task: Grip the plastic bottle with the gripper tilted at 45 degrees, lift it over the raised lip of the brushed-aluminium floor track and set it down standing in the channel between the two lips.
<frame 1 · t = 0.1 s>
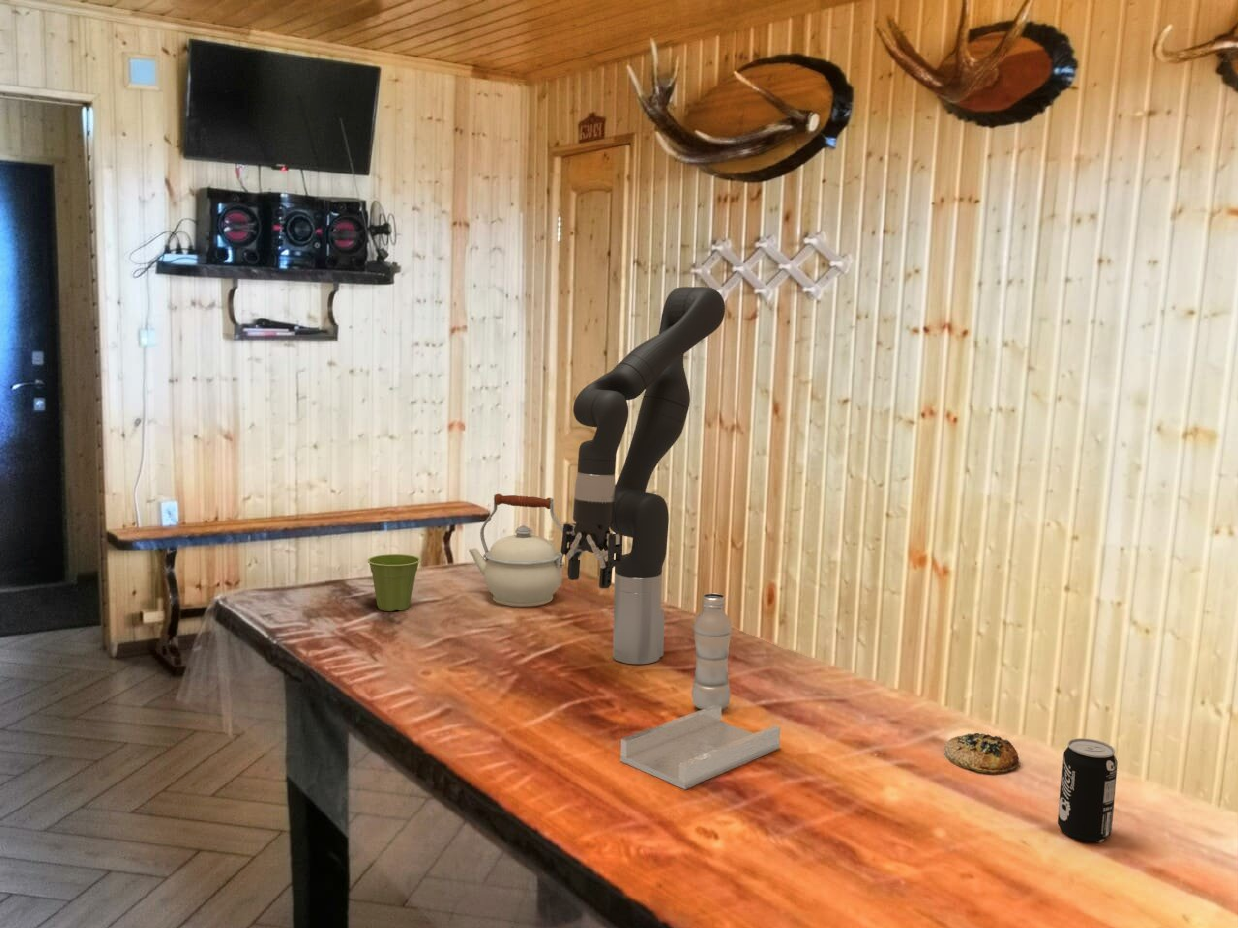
hand: (588, 583, 200), 17 cm above the table, fingers open, 8 cm apart
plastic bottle: (710, 709, 185), on the table
beverage can: (1084, 834, 143), on the table
aluminium track: (701, 754, 166), on the table
bread roll: (979, 762, 166), on the table
kettle: (516, 599, 254), on the table
plant pot: (394, 608, 245), on the table
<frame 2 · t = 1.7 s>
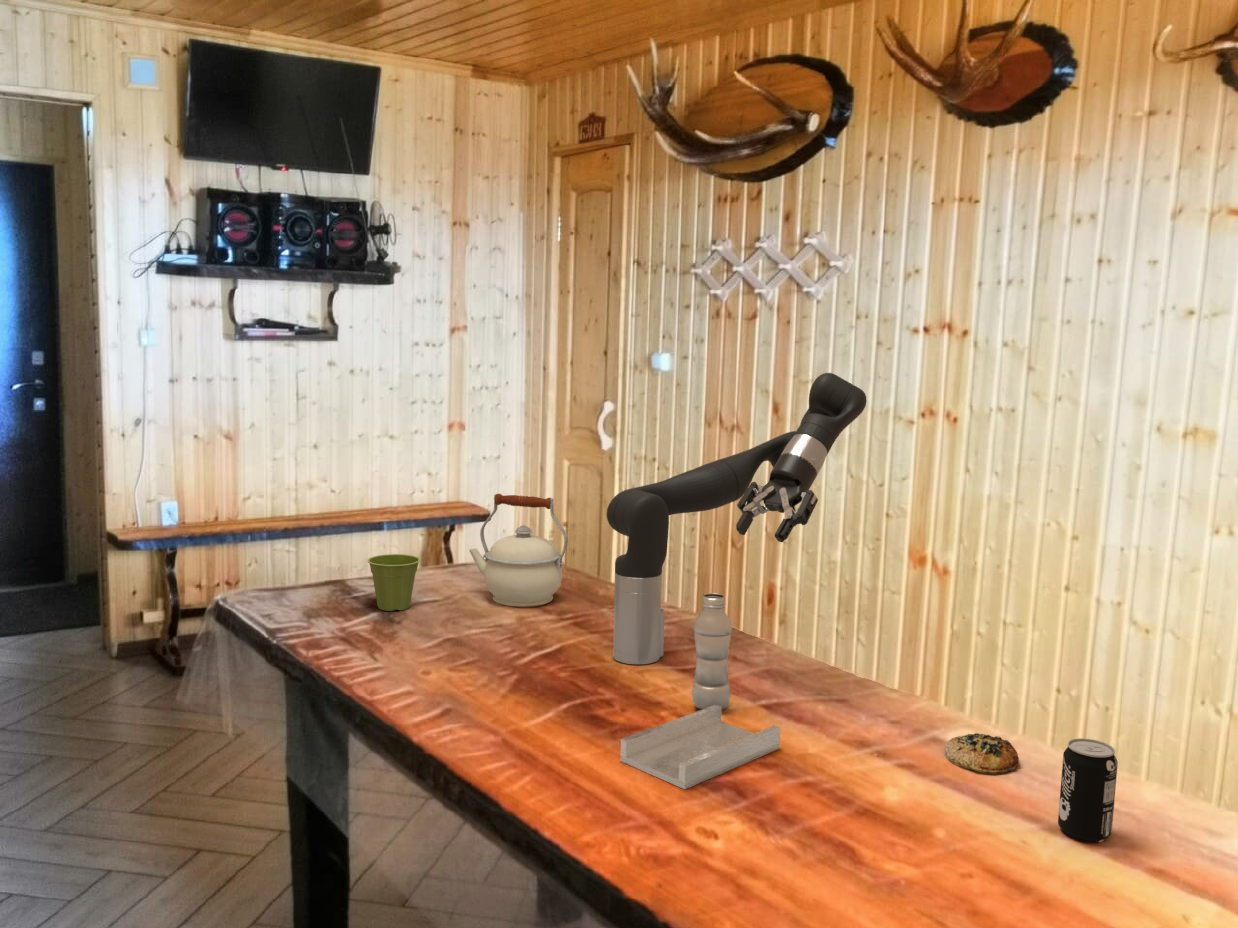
hand: (758, 535, 189), 29 cm above the table, fingers open, 8 cm apart
nothing on the table moved.
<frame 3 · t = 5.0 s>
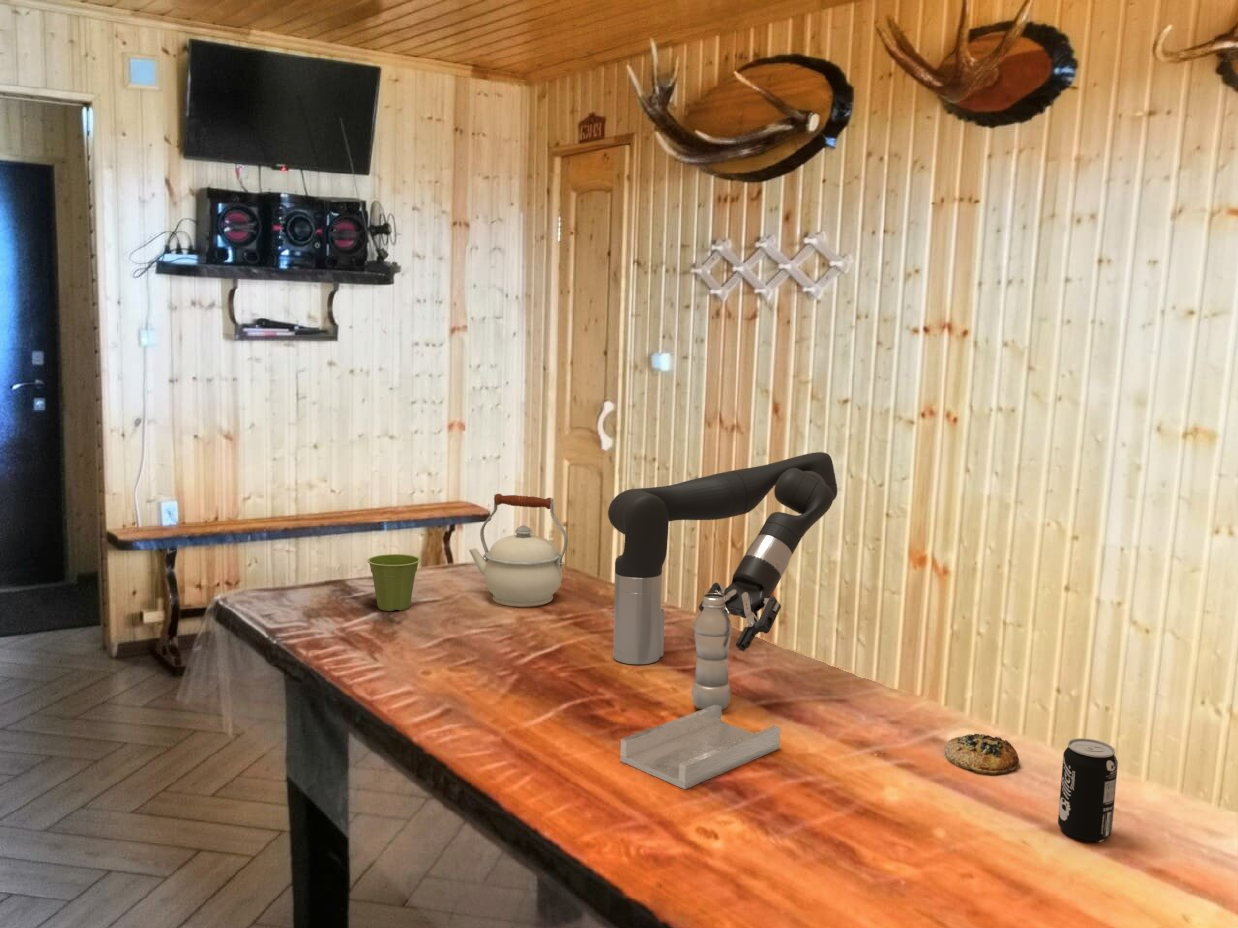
hand: (719, 642, 184), 12 cm above the table, fingers open, 8 cm apart
nothing on the table moved.
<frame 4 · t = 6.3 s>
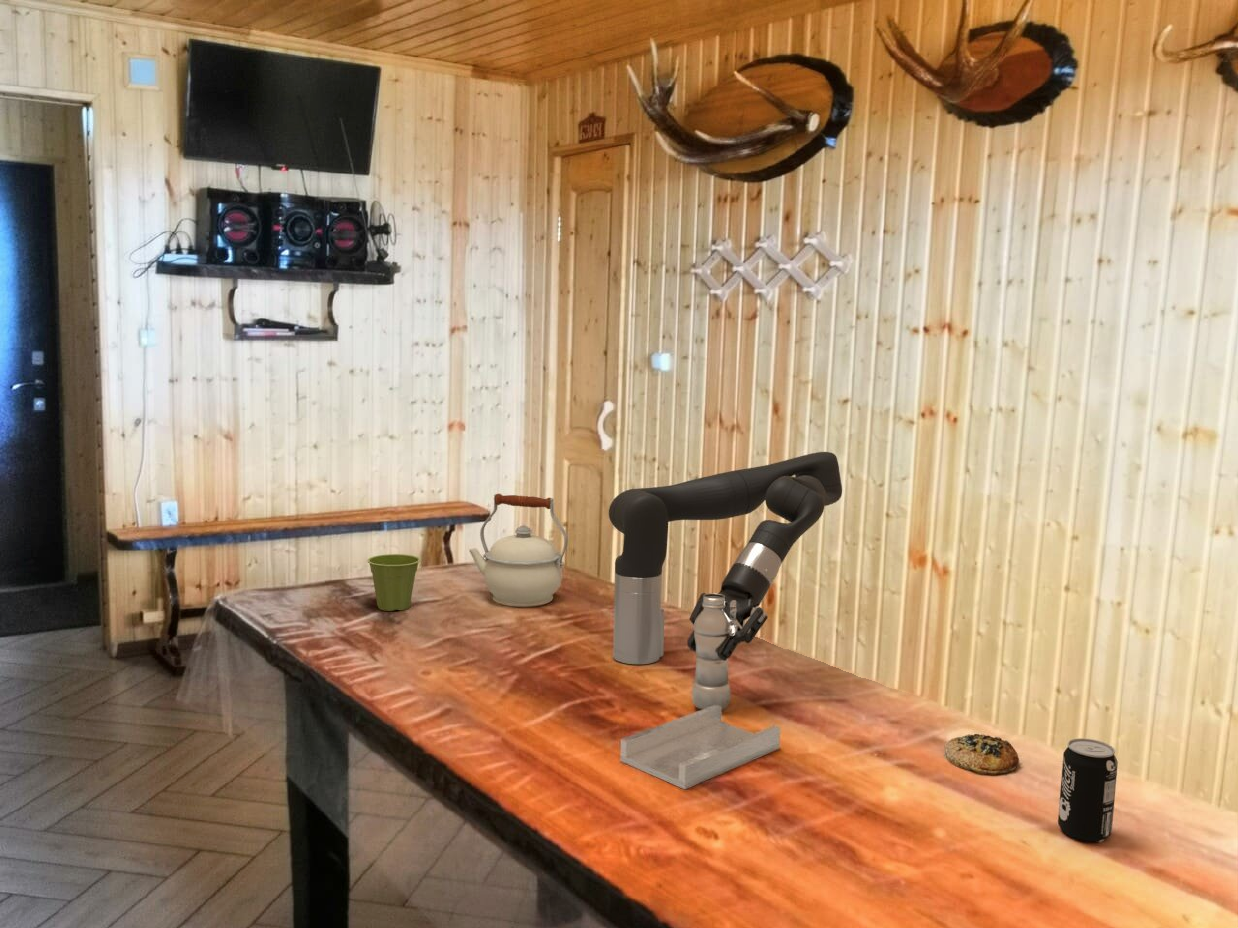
hand: (705, 652, 183), 10 cm above the table, fingers closed on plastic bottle, 6 cm apart
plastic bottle: (710, 709, 185), on the table, touching gripper
everything else where it was.
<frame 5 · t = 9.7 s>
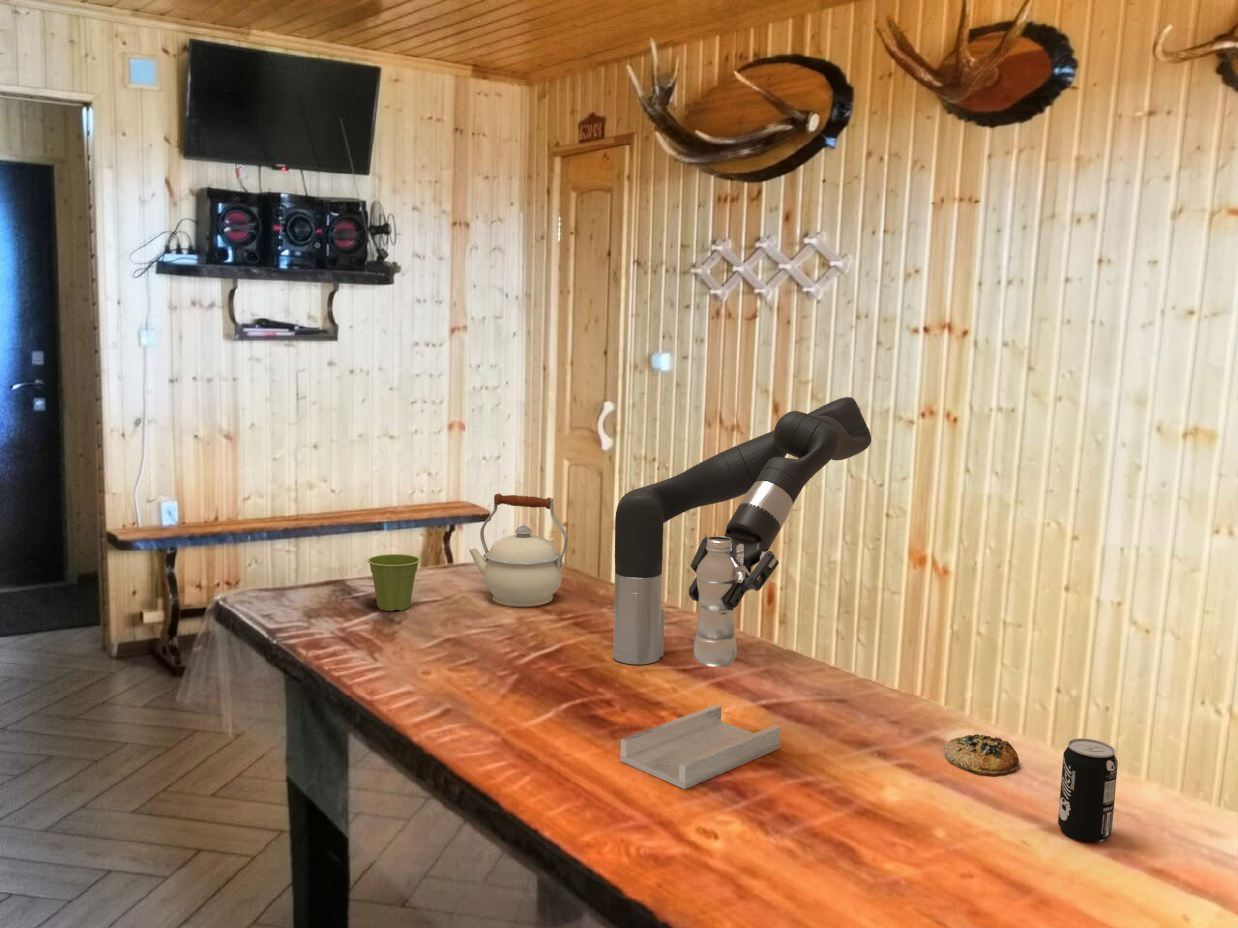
hand: (709, 602, 163), 24 cm above the table, fingers closed on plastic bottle, 6 cm apart
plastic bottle: (714, 666, 166), point 13 cm above the table, touching gripper
everything else where it was.
when the fingers open (13 cm above the table, at t = 13.3 s): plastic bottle drops 1 cm, resting on aluminium track.
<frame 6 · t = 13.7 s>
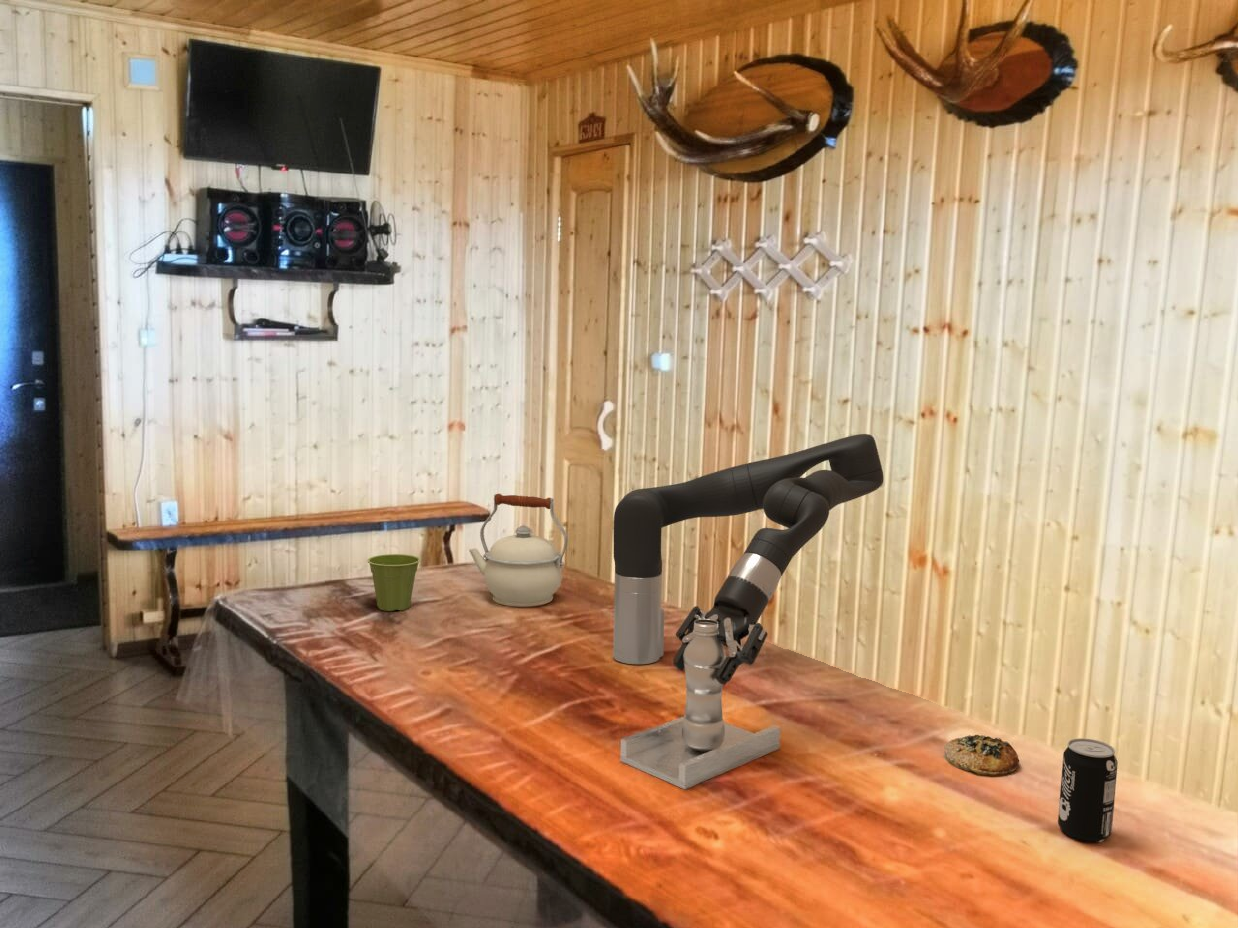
hand: (697, 674, 163), 13 cm above the table, fingers open, 8 cm apart
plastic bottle: (702, 748, 166), point 1 cm above the table, touching aluminium track
everything else where it was.
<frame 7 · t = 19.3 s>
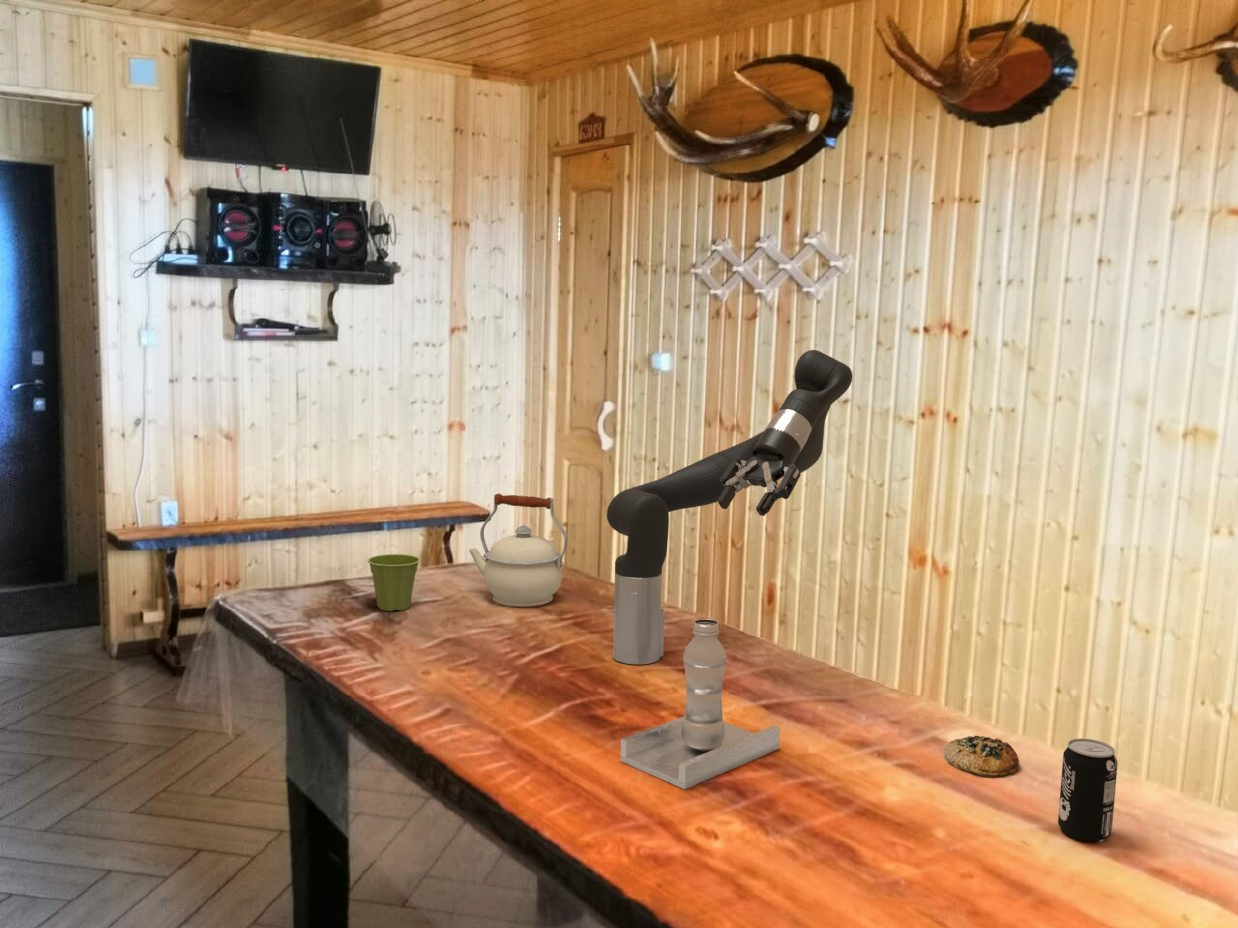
hand: (740, 509, 188), 34 cm above the table, fingers open, 8 cm apart
at the end: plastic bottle inside the target area on the aluminium track (0.4 cm from its centre), point 0.8 cm above the aluminium track's base; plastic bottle tilted 0°; the gripper is holding nothing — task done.
